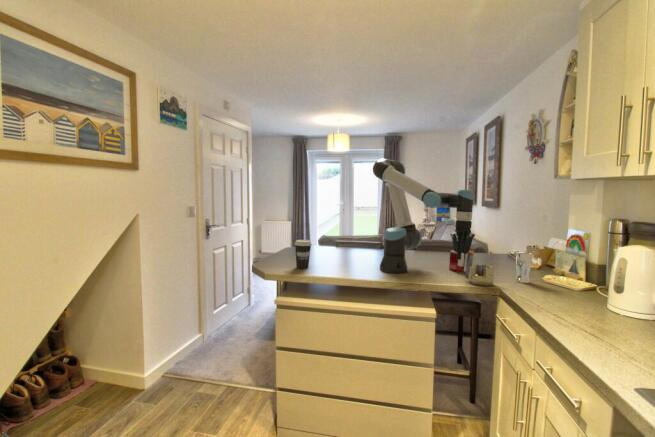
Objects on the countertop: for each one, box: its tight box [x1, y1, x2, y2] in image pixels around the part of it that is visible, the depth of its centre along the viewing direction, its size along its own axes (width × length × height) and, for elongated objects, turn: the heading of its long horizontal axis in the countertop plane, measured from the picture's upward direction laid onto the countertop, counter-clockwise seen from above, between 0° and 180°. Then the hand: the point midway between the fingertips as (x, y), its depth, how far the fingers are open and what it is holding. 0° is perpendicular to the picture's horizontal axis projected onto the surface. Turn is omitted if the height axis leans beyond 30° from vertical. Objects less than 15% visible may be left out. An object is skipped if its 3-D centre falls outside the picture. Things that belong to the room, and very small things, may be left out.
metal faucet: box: [464, 250, 495, 287], centre depth 162 cm, size 18×11×14 cm, turn 6°
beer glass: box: [515, 250, 533, 284], centre depth 164 cm, size 7×7×15 cm
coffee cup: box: [294, 239, 312, 270], centre depth 180 cm, size 10×10×15 cm
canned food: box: [448, 249, 466, 272], centre depth 185 cm, size 8×8×11 cm
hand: (460, 265), depth 168 cm, fingers closed
